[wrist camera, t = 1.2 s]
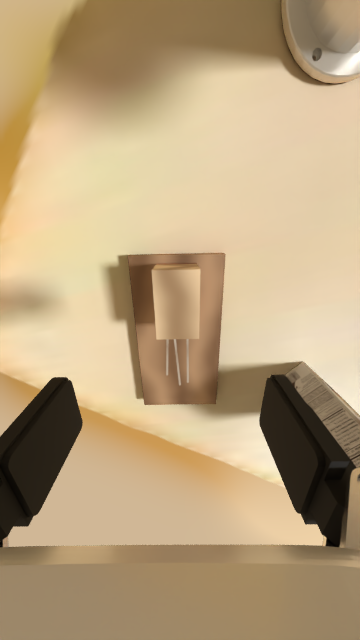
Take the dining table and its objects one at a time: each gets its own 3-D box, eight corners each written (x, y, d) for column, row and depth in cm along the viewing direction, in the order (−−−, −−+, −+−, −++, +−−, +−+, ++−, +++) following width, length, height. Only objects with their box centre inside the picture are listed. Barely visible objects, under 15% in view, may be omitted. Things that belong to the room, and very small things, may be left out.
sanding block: (196, 263, 26) (200, 269, 21) (196, 322, 29) (199, 338, 24) (156, 263, 26) (151, 270, 21) (160, 322, 29) (156, 339, 24)
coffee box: (334, 389, 35) (447, 503, 20) (303, 410, 37) (385, 529, 22) (303, 359, 33) (405, 463, 18) (271, 383, 35) (339, 495, 20)
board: (223, 253, 27) (225, 254, 25) (214, 397, 36) (215, 403, 34) (130, 254, 27) (127, 256, 25) (145, 398, 36) (144, 404, 35)
